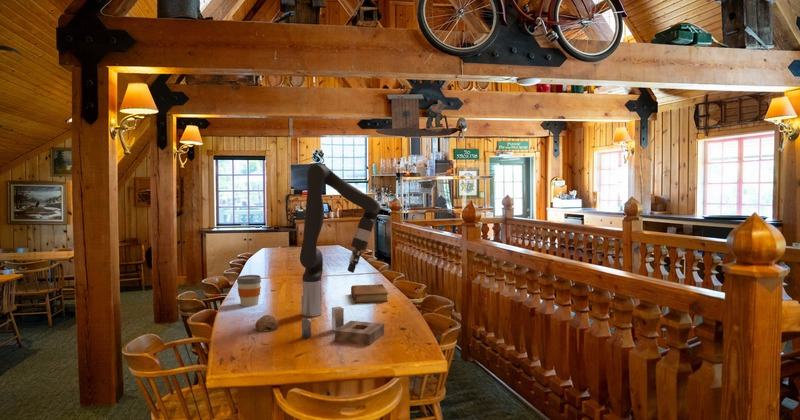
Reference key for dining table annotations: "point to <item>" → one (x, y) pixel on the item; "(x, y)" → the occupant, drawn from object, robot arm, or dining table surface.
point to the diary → (369, 293)
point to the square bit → (337, 317)
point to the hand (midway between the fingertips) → (350, 271)
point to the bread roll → (267, 323)
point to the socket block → (359, 332)
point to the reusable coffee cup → (249, 289)
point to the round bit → (306, 328)
